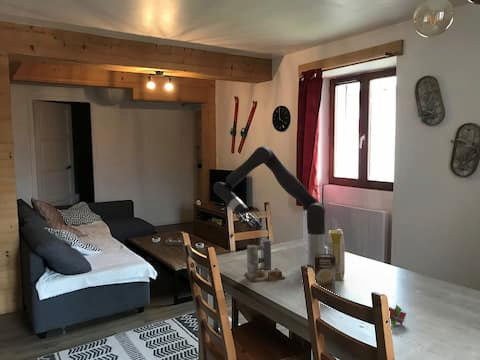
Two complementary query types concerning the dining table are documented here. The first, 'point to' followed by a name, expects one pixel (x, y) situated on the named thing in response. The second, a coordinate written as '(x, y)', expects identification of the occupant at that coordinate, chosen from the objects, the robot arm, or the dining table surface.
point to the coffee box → (325, 270)
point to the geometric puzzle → (396, 315)
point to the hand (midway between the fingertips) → (256, 227)
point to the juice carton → (337, 251)
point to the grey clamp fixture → (265, 255)
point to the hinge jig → (253, 267)
